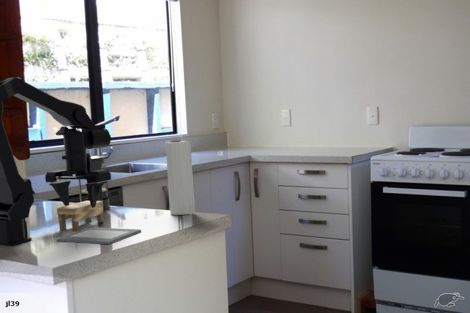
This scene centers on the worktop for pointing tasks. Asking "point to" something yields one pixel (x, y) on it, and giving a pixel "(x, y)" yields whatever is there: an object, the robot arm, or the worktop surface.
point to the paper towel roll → (180, 177)
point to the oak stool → (79, 213)
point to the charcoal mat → (99, 235)
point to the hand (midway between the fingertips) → (80, 207)
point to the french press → (100, 196)
